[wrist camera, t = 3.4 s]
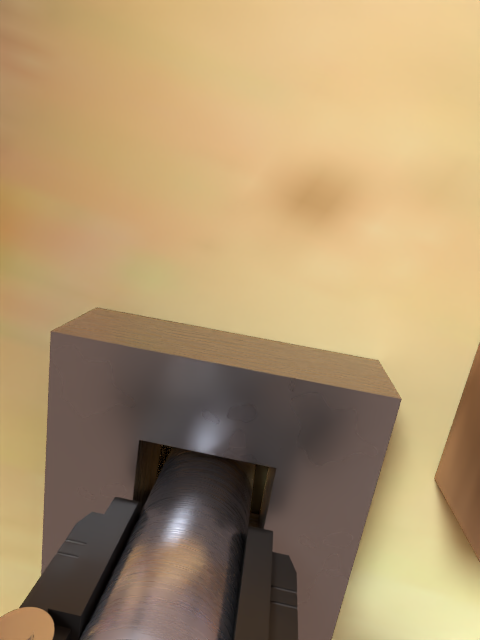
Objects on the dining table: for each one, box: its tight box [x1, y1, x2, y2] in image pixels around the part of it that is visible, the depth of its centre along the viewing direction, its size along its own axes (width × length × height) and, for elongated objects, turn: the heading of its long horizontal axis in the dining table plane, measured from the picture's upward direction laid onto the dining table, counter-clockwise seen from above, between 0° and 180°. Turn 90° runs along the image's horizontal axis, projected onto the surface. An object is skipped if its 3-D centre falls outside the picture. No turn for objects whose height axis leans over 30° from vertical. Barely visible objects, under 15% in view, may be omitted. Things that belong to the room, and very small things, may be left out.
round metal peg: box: [79, 447, 256, 640], centre depth 11 cm, size 3×3×11 cm
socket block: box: [41, 308, 401, 640], centre depth 15 cm, size 10×10×3 cm
